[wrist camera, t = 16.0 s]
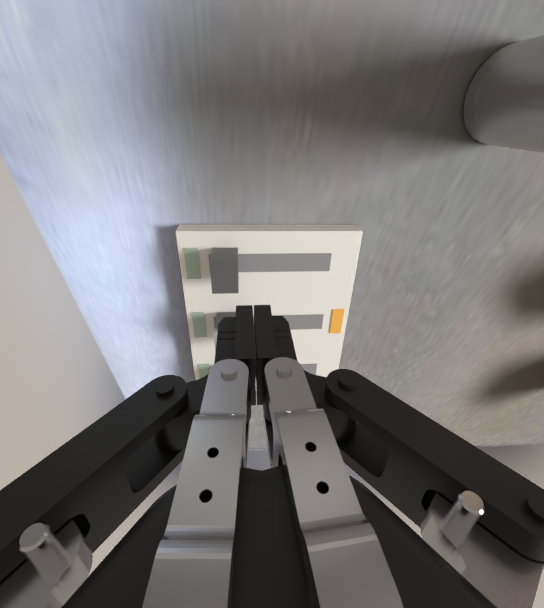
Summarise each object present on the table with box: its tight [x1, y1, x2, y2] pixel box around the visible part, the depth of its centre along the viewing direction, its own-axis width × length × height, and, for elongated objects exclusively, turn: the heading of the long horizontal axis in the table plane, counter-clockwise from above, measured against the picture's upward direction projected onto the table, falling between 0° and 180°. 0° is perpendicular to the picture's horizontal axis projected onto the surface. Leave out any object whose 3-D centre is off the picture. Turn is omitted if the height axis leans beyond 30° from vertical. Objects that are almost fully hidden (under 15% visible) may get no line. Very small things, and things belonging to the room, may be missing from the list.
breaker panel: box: [176, 225, 363, 391], centre depth 43 cm, size 22×26×6 cm
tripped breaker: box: [213, 313, 236, 352], centre depth 41 cm, size 3×4×4 cm
